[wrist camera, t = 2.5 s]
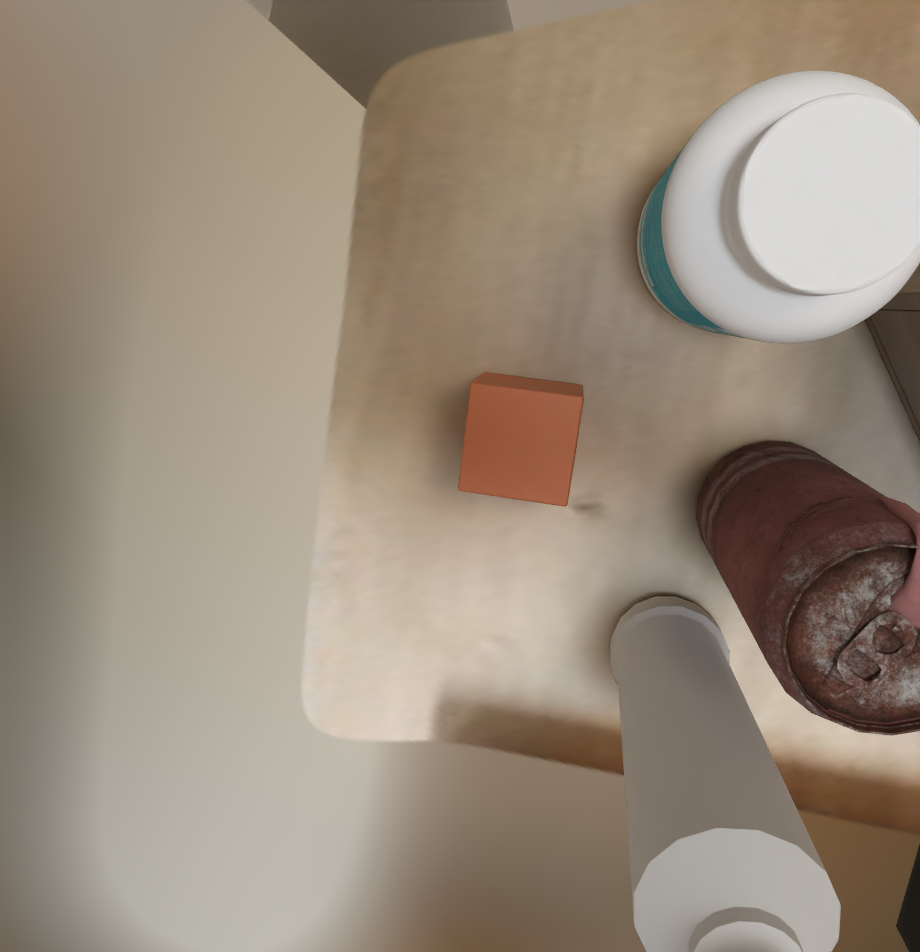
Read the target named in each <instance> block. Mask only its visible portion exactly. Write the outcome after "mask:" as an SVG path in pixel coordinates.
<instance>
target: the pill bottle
mask: <svg viewBox="0 0 920 952" xmlns="http://www.w3.org/2000/svg"><path fill="white" fill-rule="evenodd" d="M637 254H638V261H639V266H640V270H641V273H642V276H643V278H644V281H645V283H646V285H647V287H648V289H649V291H650V292H651V294H652V295H653V296H654V298H655V299H656V300H657V302H658V303H659V304H660V305H661V306H662V307H663V308H664V309H665V310H666V311H668V312H669V313H670V314H671V315H672V316H674V317H675V318H677V319H679V320H680V321H682V322H684V323H686V324H688V325H691V326H693V327H696V328H699V329H703V330H706V331H711V332H715V333H721V334H727V335H732V336H737V337H742V338H747V339H752V340H757V341H762V342H770V343H801V342H809V341H814V340H819V339H823V338H826V337H829V336H832V335H835V334H838V333H840V332H843V331H845V330H847V329H849V328H851V327H853V326H855V325H856V324H858V323H860V322H862V321H863V320H865V319H866V318H868V317H870V316H871V315H872V314H874V313H875V312H877V311H878V310H879V309H881V308H882V307H883V306H884V305H885V304H887V303H888V302H889V301H890V300H891V299H892V298H893V297H894V296H895V295H896V294H897V293H898V292H899V291H900V290H901V288H902V287H903V286H904V285H905V284H906V282H907V281H908V280H909V278H910V277H911V275H912V274H913V272H914V271H915V270H916V268H917V267H918V265H919V263H920V124H919V123H918V121H917V120H916V119H915V117H914V116H913V115H912V114H911V112H910V111H909V110H908V109H907V108H906V107H905V106H904V105H903V104H902V103H901V102H900V101H899V100H897V99H896V98H895V97H894V96H893V95H891V94H890V93H888V92H887V91H886V90H884V89H882V88H880V87H879V86H877V85H875V84H873V83H871V82H869V81H867V80H864V79H861V78H859V77H856V76H852V75H848V74H844V73H839V72H831V71H801V72H793V73H788V74H784V75H779V76H776V77H773V78H770V79H767V80H764V81H762V82H759V83H757V84H755V85H753V86H751V87H749V88H747V89H745V90H744V91H742V92H740V93H739V94H737V95H735V96H734V97H732V98H731V99H730V100H728V101H727V102H726V103H724V104H723V105H722V106H720V107H719V108H718V109H717V110H716V111H714V112H713V113H712V114H711V115H710V116H709V117H708V118H707V119H706V120H705V121H704V122H703V123H702V124H701V126H700V127H699V128H698V129H697V130H696V132H695V133H694V134H693V135H692V137H691V138H690V139H689V141H688V142H687V143H686V145H685V146H684V148H683V149H682V150H681V152H680V153H679V154H678V156H677V157H676V159H675V160H674V161H673V162H672V164H671V165H670V166H669V168H668V169H667V170H666V171H665V173H664V174H663V175H662V177H661V178H660V180H659V181H658V182H657V184H656V185H655V187H654V188H653V190H652V192H651V194H650V195H649V197H648V199H647V201H646V204H645V206H644V208H643V211H642V214H641V218H640V222H639V227H638V235H637Z"/></svg>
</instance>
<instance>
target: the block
mask: <svg viewBox="0 0 920 952" xmlns="http://www.w3.org/2000/svg"><path fill="white" fill-rule="evenodd" d="M583 400H584V397H583V386H582V385H578V384H570V383H563V382H555V381H547V380H540V379H532V378H524V377H517V376H509V375H501V374H494V373H486V372H485V373H483V374H482V375H480V376H479V377H478V378H476V379H475V380H474V381H473V382H471V384H470V392H469V400H468V409H467V417H466V426H465V434H464V443H463V451H462V460H461V468H460V477H459V485H458V490H459V491H464V492H471V493H478V494H484V495H491V496H498V497H505V498H511V499H518V500H525V501H532V502H538V503H545V504H552V505H558V506H567V505H568V498H569V492H570V485H571V478H572V472H573V465H574V459H575V452H576V446H577V439H578V433H579V426H580V420H581V413H582V407H583Z"/></svg>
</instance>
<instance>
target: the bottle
mask: <svg viewBox="0 0 920 952" xmlns="http://www.w3.org/2000/svg"><path fill="white" fill-rule="evenodd" d="M610 653H611V672H612V674H613V676H614V678H615V680H616V682H617V684H618V687H619V702H620V717H621V732H622V748H623V763H624V778H625V793H626V807H627V823H628V839H629V854H630V869H631V884H632V899H633V914H634V926H635V928H636V930H637V933H638V935H639V937H640V938H641V941H642V943H643V945H644V947H645V949H646V951H647V952H831V951H832V950H833V948H834V946H835V944H836V943H837V941H838V939H839V924H840V907H841V905H840V903H839V900H838V898H837V896H836V894H835V891H834V889H833V887H832V884H831V882H830V880H829V878H828V876H827V873H826V871H825V869H824V867H823V865H822V862H821V860H820V858H819V856H818V854H817V852H816V849H815V847H814V845H813V843H812V841H811V840H810V837H809V834H808V832H807V830H806V828H805V826H804V824H803V822H802V820H801V817H800V815H799V813H798V811H797V809H796V807H795V804H794V802H793V800H792V798H791V796H790V794H789V792H788V789H787V787H786V785H785V783H784V781H783V779H782V777H781V775H780V772H779V770H778V768H777V766H776V764H775V762H774V760H773V757H772V755H771V753H770V751H769V749H768V747H767V745H766V742H765V740H764V738H763V736H762V734H761V732H760V730H759V727H758V725H757V723H756V721H755V719H754V717H753V715H752V712H751V710H750V708H749V706H748V704H747V702H746V700H745V697H744V695H743V693H742V691H741V689H740V687H739V685H738V682H737V680H736V678H735V676H734V674H733V672H732V670H731V667H730V665H729V655H730V651H729V648H728V646H727V644H726V642H725V639H724V637H723V635H722V632H721V630H720V628H719V626H718V624H717V623H716V622H715V621H714V620H713V619H712V618H711V617H710V616H709V615H708V614H707V613H706V612H705V611H704V610H703V609H701V608H700V607H699V606H698V605H697V604H694V603H691V602H689V601H686V600H684V599H681V598H678V597H676V596H655V597H652V598H649V599H647V600H644V601H641V602H639V603H636V604H635V605H634V606H633V607H632V608H630V609H629V610H628V611H627V612H626V613H625V614H624V615H623V616H622V617H621V618H620V619H619V622H618V624H617V626H616V628H615V631H614V633H613V635H612V637H611V641H610Z"/></svg>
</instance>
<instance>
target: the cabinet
mask: <svg viewBox="0 0 920 952" xmlns="http://www.w3.org/2000/svg"><path fill="white" fill-rule="evenodd" d="M865 320H866V322H867V324H868V327H869V329H870V331H871V333H872V336H873V338H874V340H875V342H876V344H877V347H878V349H879V351H880V353H881V356H882V358H883V360H884V362H885V364H886V367H887V369H888V371H889V373H890V375H891V378H892V380H893V382H894V384H895V387H896V389H897V391H898V393H899V395H900V398H901V400H902V402H903V404H904V407H905V409H906V411H907V413H908V415H909V418H910V420H911V422H912V424H913V427H914V429H915V431H916V433H917V435H918V438H919V440H920V263H919V265H918V267H917V268H916V270H915V271H914V272H913V274H912V275H911V277H910V278H909V280H908V281H907V282H906V284H905V285H904V286H903V287H902V288H901V290H900V291H899V292H898V293H897V294H896V295H895V296H894V297H893V298H892V299H891V300H890V301H889V302H888V303H887V304H885V305H884V306H883V307H882V308H881V309H879V310H878V311H877V312H875V313H874V314H872V315H871V316H870V317H868V318H866V319H865Z"/></svg>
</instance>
